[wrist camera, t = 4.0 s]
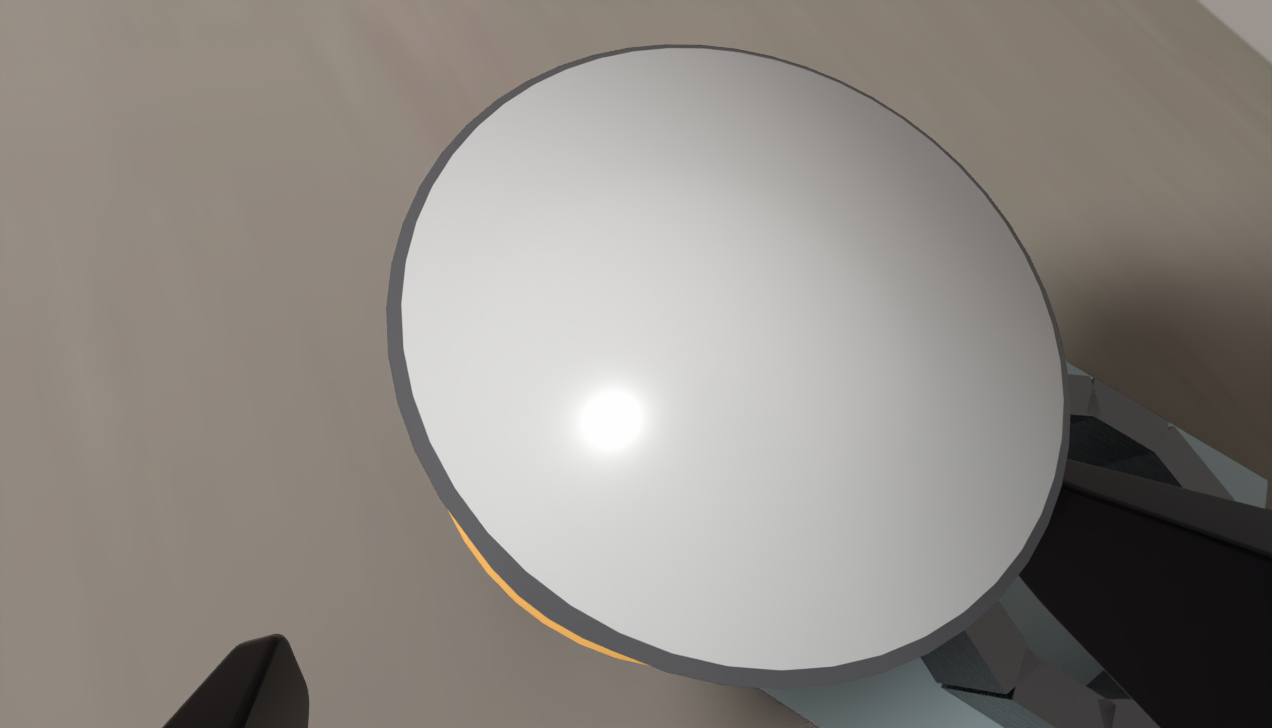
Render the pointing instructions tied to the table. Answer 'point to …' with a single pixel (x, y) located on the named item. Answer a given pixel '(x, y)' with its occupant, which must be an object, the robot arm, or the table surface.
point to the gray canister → (727, 368)
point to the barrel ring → (993, 646)
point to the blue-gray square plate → (943, 724)
